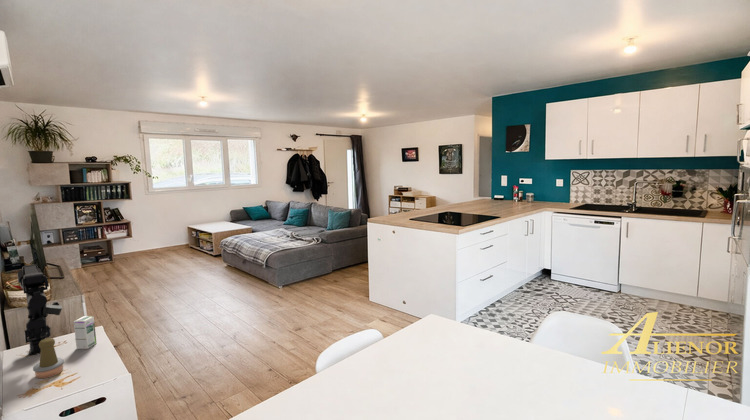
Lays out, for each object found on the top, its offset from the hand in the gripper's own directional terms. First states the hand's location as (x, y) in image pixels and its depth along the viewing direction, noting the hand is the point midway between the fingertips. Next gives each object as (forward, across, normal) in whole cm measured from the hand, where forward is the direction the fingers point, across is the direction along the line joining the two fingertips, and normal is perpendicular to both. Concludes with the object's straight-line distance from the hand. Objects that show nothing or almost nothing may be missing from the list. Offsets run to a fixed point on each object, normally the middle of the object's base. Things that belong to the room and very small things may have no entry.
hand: (39, 335), depth 164 cm
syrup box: (+13, +7, -16) cm, 22 cm away
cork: (+9, -13, -3) cm, 16 cm away
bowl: (+13, -13, -3) cm, 19 cm away
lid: (+10, -13, -3) cm, 16 cm away
